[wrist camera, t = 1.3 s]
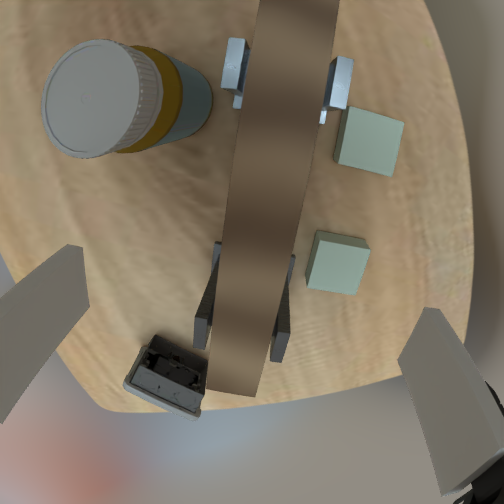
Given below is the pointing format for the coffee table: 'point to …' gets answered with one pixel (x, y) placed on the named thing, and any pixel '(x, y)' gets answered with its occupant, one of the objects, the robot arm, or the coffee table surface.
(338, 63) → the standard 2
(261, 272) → the rail
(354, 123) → the blocks
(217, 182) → the coffee table surface
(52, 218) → the coffee table surface
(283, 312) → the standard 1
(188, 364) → the electrical switch
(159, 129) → the bottle
